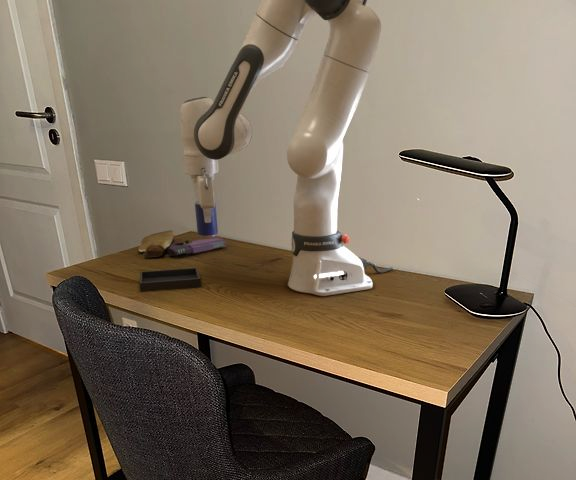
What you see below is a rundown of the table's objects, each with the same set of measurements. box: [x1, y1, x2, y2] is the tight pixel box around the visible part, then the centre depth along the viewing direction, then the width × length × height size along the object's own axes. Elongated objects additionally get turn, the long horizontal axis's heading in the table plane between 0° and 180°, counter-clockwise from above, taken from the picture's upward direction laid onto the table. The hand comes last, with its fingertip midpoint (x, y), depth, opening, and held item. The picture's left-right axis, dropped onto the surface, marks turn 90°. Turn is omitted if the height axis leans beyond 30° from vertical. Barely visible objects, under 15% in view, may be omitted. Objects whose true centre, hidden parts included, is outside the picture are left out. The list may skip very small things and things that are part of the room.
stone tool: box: [137, 229, 175, 259], centre depth 187 cm, size 12×4×25 cm
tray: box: [139, 267, 202, 292], centre depth 155 cm, size 16×10×2 cm, turn 103°
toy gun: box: [166, 236, 226, 257], centre depth 184 cm, size 4×20×10 cm
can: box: [194, 200, 219, 238], centre depth 158 cm, size 6×6×9 cm
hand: (206, 219), depth 158 cm, fingers closed on can, 5 cm apart
